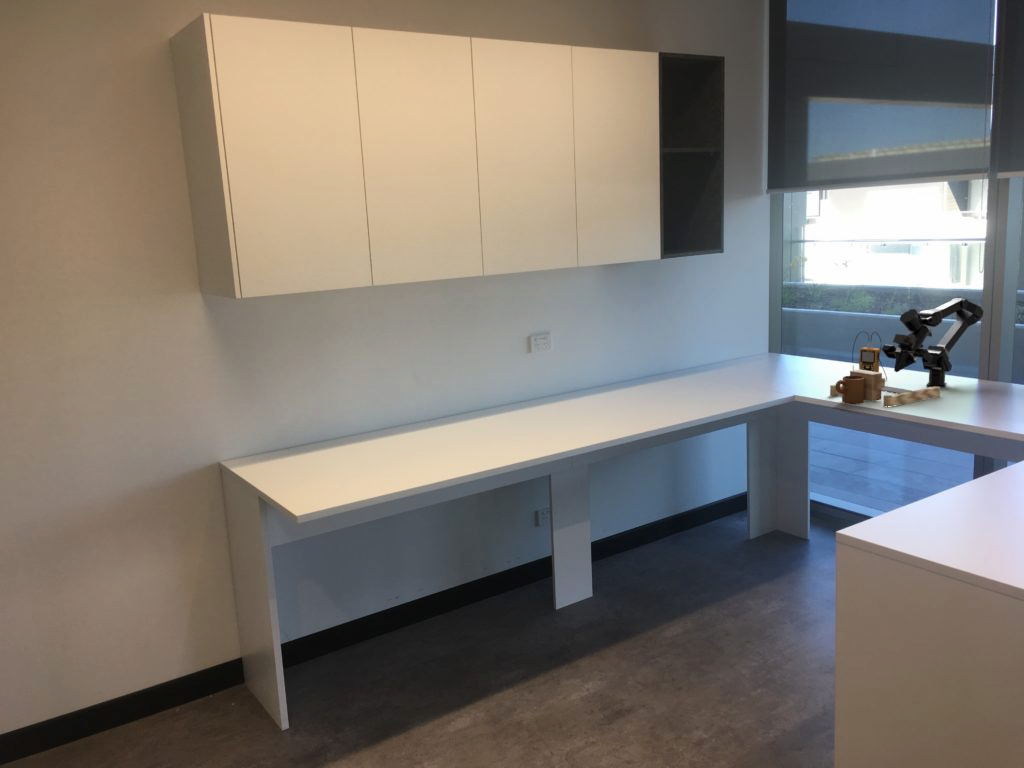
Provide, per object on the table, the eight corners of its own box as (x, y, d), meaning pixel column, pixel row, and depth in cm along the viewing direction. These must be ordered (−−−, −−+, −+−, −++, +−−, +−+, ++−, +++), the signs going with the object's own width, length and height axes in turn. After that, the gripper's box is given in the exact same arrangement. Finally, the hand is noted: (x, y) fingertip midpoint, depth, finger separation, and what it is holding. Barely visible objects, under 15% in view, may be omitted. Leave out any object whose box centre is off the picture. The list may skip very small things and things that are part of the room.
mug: (843, 407, 299) (844, 381, 297) (828, 403, 306) (828, 378, 304) (868, 402, 303) (869, 377, 302) (853, 399, 310) (853, 374, 308)
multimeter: (841, 380, 345) (842, 333, 341) (854, 376, 351) (855, 330, 347) (874, 384, 333) (875, 335, 330) (887, 381, 339) (889, 332, 335)
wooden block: (858, 395, 313) (859, 369, 312) (881, 399, 305) (882, 372, 303) (849, 397, 311) (850, 371, 309) (871, 401, 303) (872, 374, 301)
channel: (880, 386, 330) (880, 376, 329) (939, 396, 307) (940, 385, 307) (830, 395, 318) (830, 385, 317) (887, 407, 295) (888, 396, 294)
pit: (885, 387, 328) (885, 386, 328) (933, 395, 310) (933, 394, 309) (873, 389, 325) (873, 388, 325) (921, 398, 306) (921, 396, 306)
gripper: (885, 323, 321) (864, 355, 318) (928, 327, 304) (907, 361, 302) (898, 341, 326) (878, 372, 323) (941, 346, 309) (921, 379, 307)
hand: (895, 371), depth 314 cm, fingers closed
